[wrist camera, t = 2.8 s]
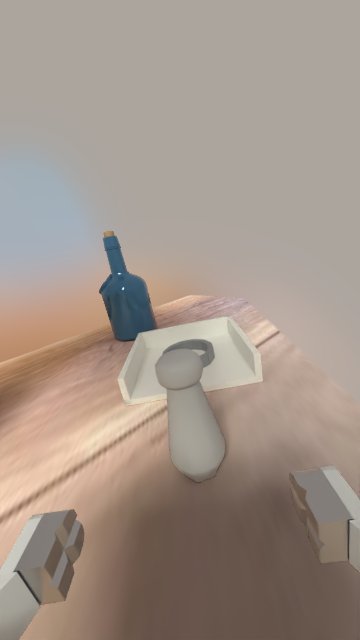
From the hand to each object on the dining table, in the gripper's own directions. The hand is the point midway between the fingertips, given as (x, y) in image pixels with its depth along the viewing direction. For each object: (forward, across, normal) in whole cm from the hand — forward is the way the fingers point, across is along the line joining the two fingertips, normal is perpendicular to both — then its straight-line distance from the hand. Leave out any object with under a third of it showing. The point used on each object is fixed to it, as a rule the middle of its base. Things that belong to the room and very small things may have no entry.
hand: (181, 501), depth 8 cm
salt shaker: (+12, 0, +13) cm, 18 cm away
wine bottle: (+60, +16, +12) cm, 63 cm away
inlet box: (+34, 0, +13) cm, 37 cm away
